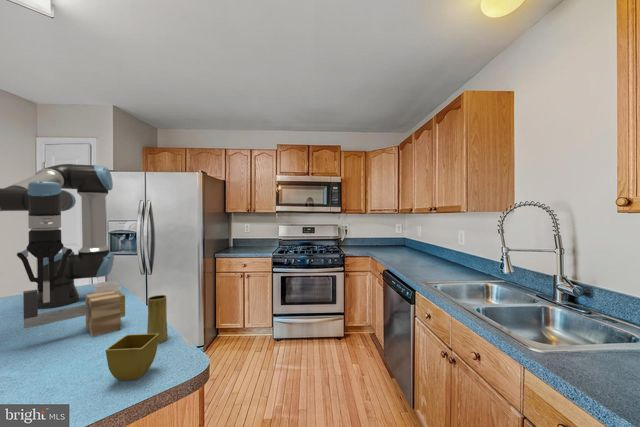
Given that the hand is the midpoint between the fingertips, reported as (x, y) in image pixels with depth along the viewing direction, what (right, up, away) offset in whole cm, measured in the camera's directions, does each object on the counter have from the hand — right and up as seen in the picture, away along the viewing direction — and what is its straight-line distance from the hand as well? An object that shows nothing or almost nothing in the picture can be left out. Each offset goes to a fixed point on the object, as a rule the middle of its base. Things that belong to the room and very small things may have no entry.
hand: (46, 301), depth 89 cm
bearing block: (+10, -13, +11) cm, 20 cm away
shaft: (+5, -7, +6) cm, 10 cm away
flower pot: (+40, -14, -17) cm, 46 cm away
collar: (+13, -10, +15) cm, 22 cm away
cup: (-1, -13, +27) cm, 31 cm away
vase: (+35, -14, +2) cm, 38 cm away
